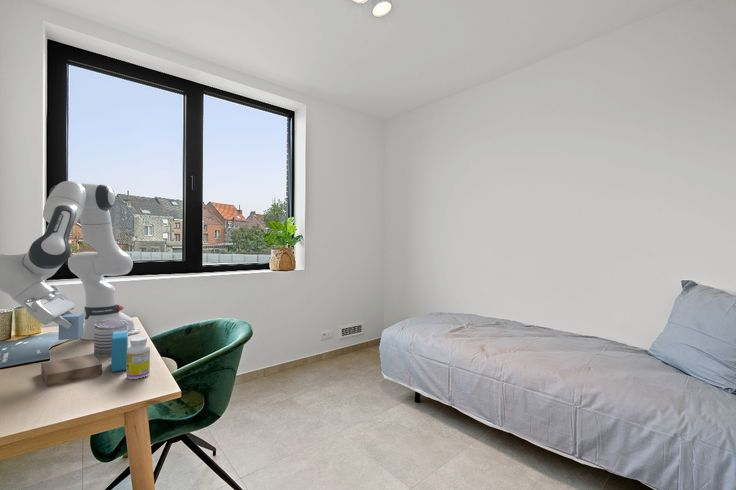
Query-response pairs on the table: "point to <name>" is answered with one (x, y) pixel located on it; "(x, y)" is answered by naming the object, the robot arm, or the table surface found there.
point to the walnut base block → (70, 369)
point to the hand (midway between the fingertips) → (74, 324)
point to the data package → (119, 351)
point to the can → (106, 335)
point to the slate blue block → (72, 327)
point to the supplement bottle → (138, 358)
